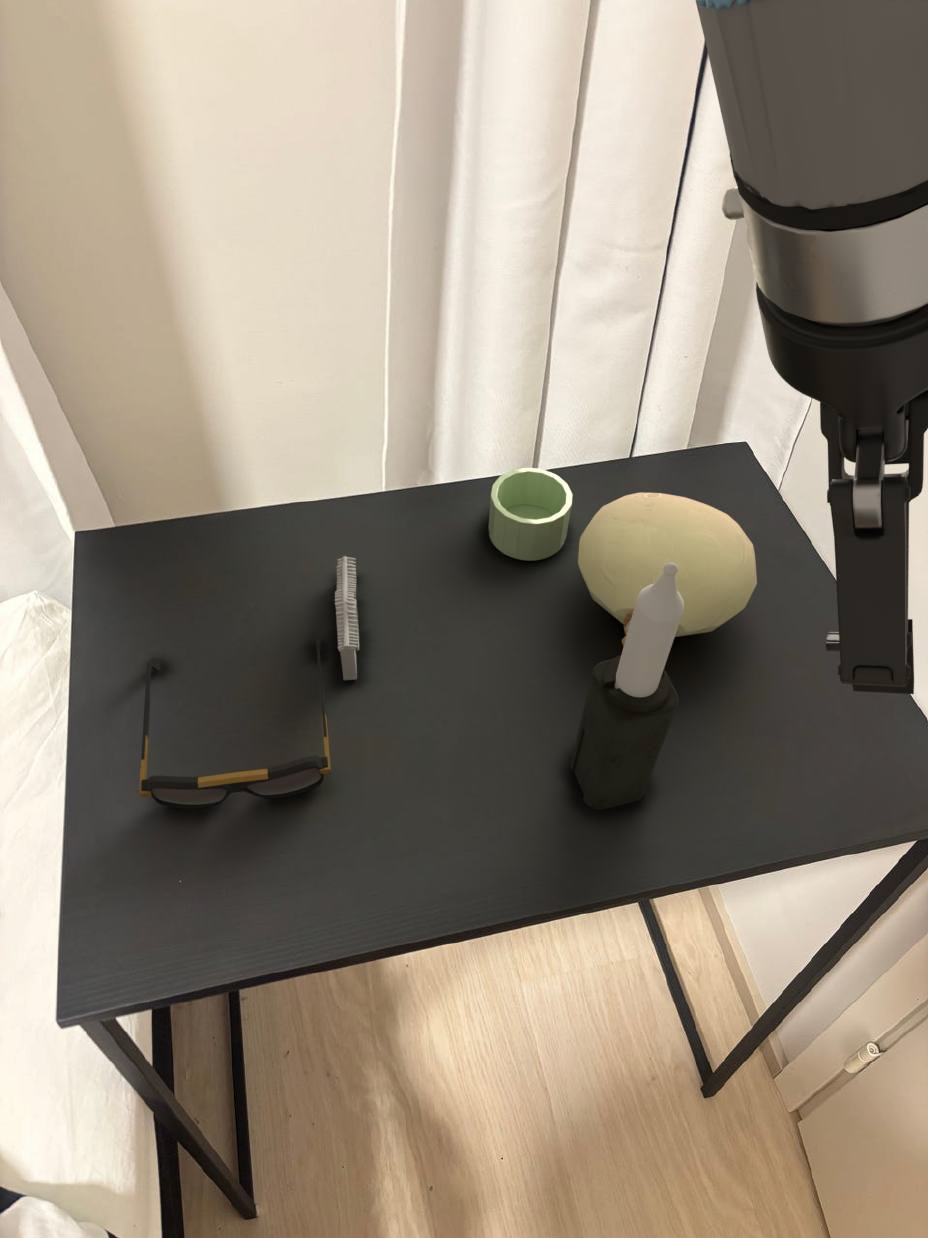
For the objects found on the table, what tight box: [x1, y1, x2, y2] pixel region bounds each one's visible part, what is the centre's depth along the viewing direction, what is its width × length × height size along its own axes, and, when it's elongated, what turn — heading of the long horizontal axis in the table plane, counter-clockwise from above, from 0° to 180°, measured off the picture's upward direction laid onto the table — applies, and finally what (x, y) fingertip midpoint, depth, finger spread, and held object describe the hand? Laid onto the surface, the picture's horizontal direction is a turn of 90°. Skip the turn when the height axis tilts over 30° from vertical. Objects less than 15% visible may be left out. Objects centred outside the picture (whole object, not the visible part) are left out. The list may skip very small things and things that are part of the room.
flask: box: [577, 491, 758, 647], centre depth 81 cm, size 9×16×18 cm
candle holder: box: [487, 467, 573, 562], centre depth 89 cm, size 8×8×5 cm
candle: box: [570, 562, 684, 811], centre depth 64 cm, size 5×5×25 cm
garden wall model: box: [334, 555, 360, 681], centre depth 80 cm, size 12×2×6 cm, turn 6°
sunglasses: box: [138, 638, 332, 810], centre depth 73 cm, size 14×15×5 cm
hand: (889, 566), depth 48 cm, fingers open, 13 cm apart
